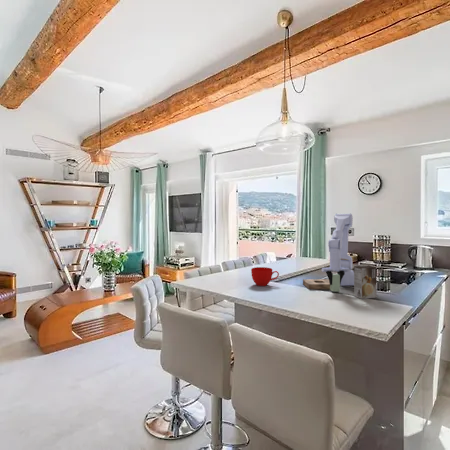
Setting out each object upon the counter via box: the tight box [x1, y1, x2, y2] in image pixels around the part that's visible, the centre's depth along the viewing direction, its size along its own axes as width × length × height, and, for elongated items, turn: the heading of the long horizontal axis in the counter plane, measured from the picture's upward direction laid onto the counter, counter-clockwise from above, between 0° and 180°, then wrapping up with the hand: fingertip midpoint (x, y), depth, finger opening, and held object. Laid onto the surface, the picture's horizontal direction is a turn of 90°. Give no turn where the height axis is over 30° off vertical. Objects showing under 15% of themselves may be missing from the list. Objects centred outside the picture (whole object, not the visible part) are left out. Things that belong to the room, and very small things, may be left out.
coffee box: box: [353, 265, 377, 300], centre depth 164 cm, size 9×6×16 cm
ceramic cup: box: [250, 266, 280, 287], centre depth 193 cm, size 13×17×10 cm
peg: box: [329, 273, 341, 292], centre depth 175 cm, size 4×4×9 cm
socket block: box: [302, 278, 330, 290], centre depth 188 cm, size 16×14×3 cm
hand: (334, 284), depth 175 cm, fingers closed on peg, 4 cm apart
